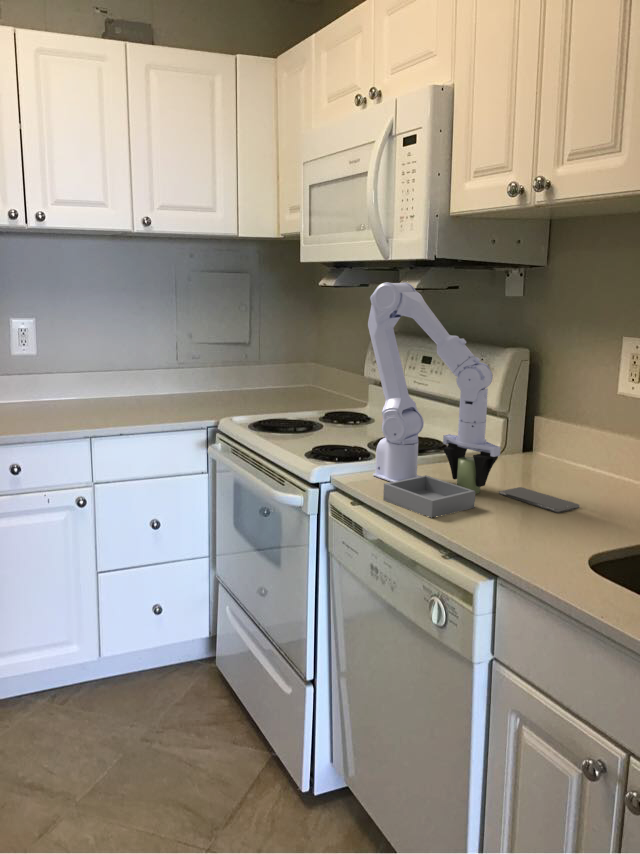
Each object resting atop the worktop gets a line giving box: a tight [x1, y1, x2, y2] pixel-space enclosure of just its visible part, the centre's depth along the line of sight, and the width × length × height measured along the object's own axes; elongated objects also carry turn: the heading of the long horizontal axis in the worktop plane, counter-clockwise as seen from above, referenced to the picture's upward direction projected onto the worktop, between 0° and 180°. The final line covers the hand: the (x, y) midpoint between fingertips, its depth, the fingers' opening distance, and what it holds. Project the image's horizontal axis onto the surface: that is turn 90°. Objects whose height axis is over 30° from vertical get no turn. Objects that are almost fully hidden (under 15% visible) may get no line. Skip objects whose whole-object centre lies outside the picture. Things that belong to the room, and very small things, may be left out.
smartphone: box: [498, 486, 581, 514], centre depth 153 cm, size 7×1×16 cm
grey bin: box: [382, 474, 476, 519], centre depth 149 cm, size 14×12×4 cm
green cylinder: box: [456, 456, 481, 495], centre depth 159 cm, size 5×5×7 cm
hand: (468, 482), depth 159 cm, fingers open, 6 cm apart
